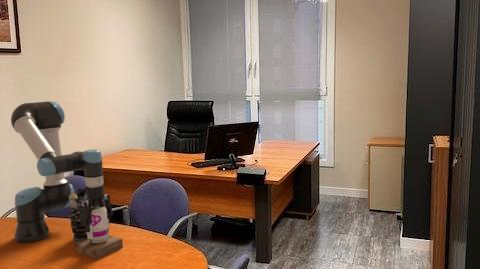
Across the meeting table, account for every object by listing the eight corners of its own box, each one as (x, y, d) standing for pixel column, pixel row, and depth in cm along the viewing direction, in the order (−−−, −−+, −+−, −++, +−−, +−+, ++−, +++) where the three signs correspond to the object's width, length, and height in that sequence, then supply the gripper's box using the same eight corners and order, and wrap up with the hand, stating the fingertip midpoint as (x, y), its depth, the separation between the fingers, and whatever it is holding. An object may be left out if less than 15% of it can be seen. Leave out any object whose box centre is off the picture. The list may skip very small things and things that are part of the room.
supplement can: (102, 244, 182) (100, 211, 180) (85, 243, 184) (82, 210, 182) (112, 237, 190) (109, 205, 188) (95, 236, 192) (92, 204, 189)
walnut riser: (76, 252, 185) (75, 243, 185) (102, 241, 197) (101, 233, 196) (97, 259, 178) (96, 250, 177) (122, 247, 190) (122, 238, 189)
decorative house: (89, 247, 190) (84, 194, 187) (63, 243, 196) (58, 191, 192) (117, 231, 210) (114, 182, 206) (93, 227, 215) (89, 180, 211)
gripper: (79, 192, 172) (84, 245, 176) (119, 180, 190) (122, 229, 193) (68, 190, 177) (72, 241, 180) (108, 179, 194) (111, 226, 197)
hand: (98, 235), depth 187 cm, fingers closed on supplement can, 8 cm apart
